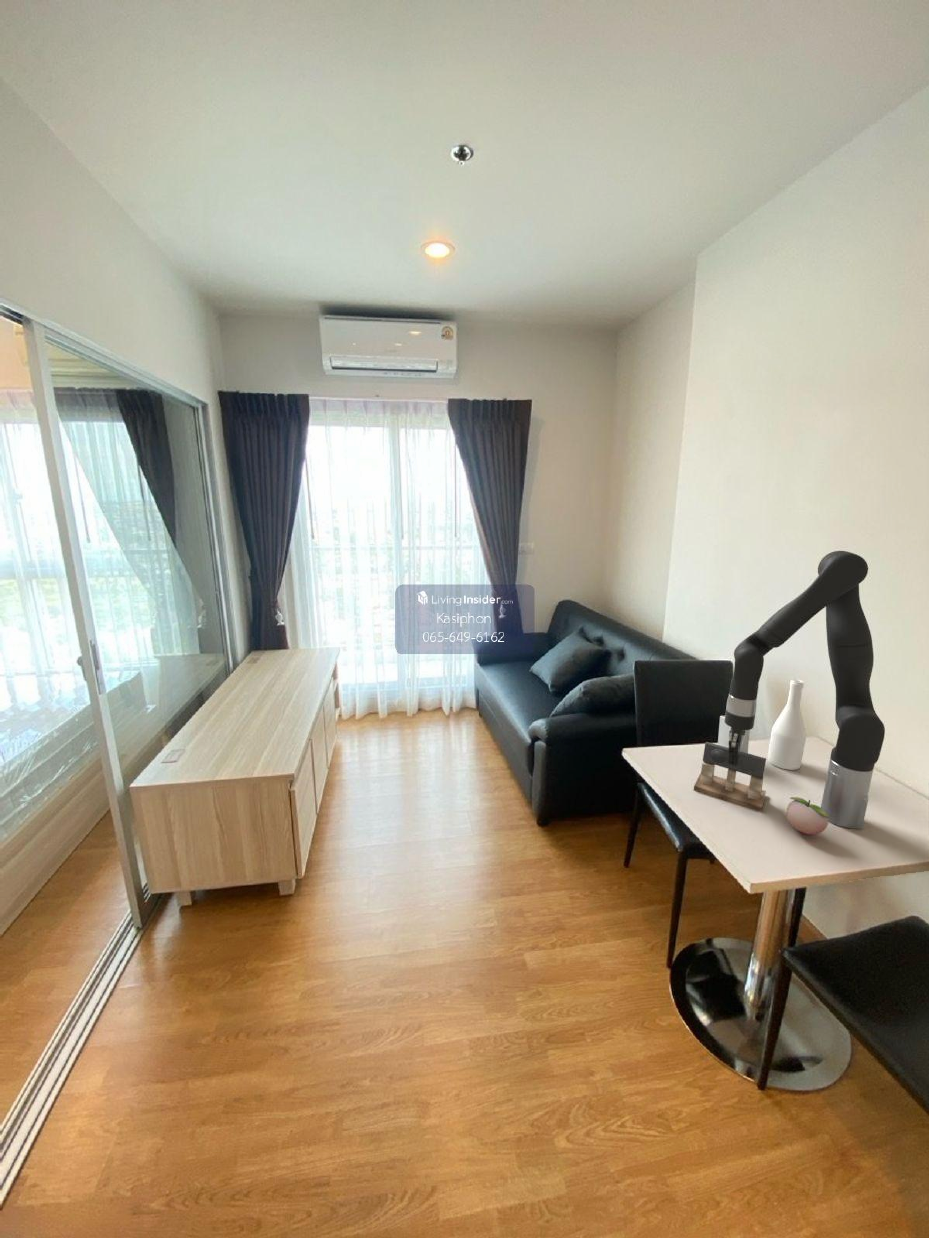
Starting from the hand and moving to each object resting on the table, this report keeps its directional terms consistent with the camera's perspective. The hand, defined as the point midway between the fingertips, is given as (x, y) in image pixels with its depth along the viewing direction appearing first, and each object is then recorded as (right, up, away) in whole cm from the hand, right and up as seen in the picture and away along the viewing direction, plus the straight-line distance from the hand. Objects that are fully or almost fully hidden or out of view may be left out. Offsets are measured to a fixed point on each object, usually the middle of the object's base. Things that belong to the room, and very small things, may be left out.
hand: (733, 763), depth 143 cm
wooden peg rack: (0, -10, +2) cm, 10 cm away
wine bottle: (+28, -6, +19) cm, 34 cm away
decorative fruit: (+10, -14, -16) cm, 23 cm away
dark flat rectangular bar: (0, -2, 0) cm, 2 cm away
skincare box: (+12, -5, +22) cm, 25 cm away
